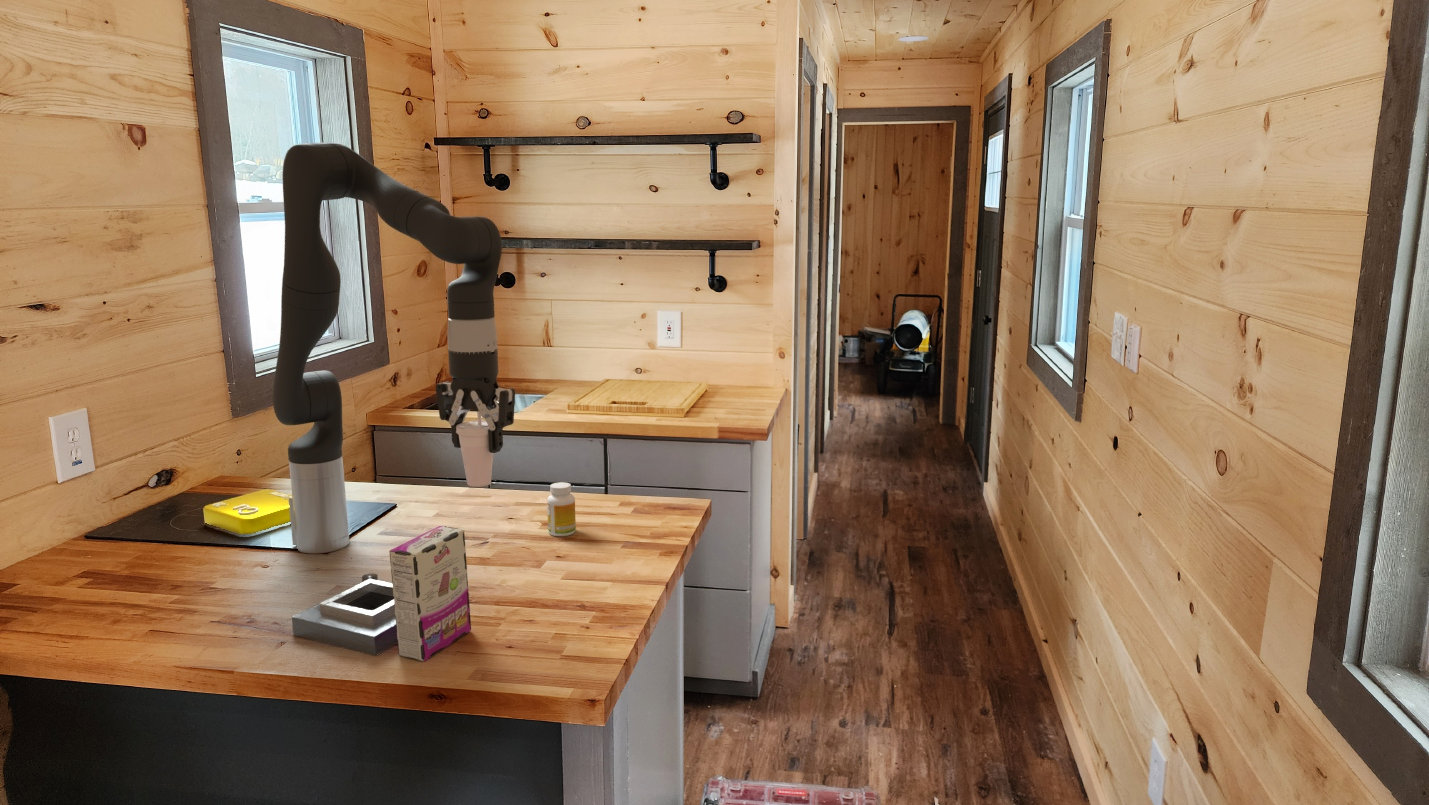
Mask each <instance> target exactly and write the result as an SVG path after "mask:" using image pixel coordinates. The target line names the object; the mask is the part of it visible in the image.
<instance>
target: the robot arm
mask: <svg viewBox="0 0 1429 805" xmlns="http://www.w3.org/2000/svg"><path fill="white" fill-rule="evenodd" d="M281 176H282V195H283V196H282V197H283V199H282V200H283V210H284V252H283V255H284V256H283V270H282V271H283V273H282V279H281V281H282V283H281V302H280V303H281V304H280V305H281V309H280V312H281V314H280V333H279V335H280V336H279V346H278V353H277V358H276V365H275V371H274V378H273V379H274V380H273V385H272V407H273V410H274V414H275V417H276V418H277V420H278V421H279V423H281V424H282V425H285V426H299V425H305V424H311V423H313V426H312V427H311V428H310V430H308V431H307V432H306V433H305V434H303V435H302V436H301V437H299V438H297V439H295V440H293V441H292V442H291V443H289V445H288V447H287V455H288V456H287V457H288V459H287V460H288V468H289V477H290V487H291V495H292V497H291V498H289V509H290V520H291V525H290V527H291V538H292V546H293V545H296V546H297V547H296V549H298V550H297V551H298V552H301V553H305V554H324V553H330V552H335V551H338V550H340V549H343V548H345V547H347V546H348V545H349V544H350V535H349V532H350V531H349V522H348V521H349V520H348V507H347V506H348V505H347V495H346V482H345V472H344V462H343V458H344V457H343V443H344V442H343V441H344V431H343V399H342V391H341V390H342V389H341V386H340V382H339V380H338V378H337V377H336V375H335V374H334V373H333V372H331V371H330V370H316V371H308V372H307V371H306V372H305V368H306V366H307V365H306V364H307V363H308V359H309V356H310V354H311V353H312V351H313V349H314V348H315V347H316V345H318V343H319V342H320V340H321V339H322V338H323V337H324V335H325V334H326V332H328V330H329V328H330V327H331V326H332V323H333V322H334V320H335V319H336V317H337V316H338V315H337V314H338V312H339V306H340V305H339V304H340V294H341V279H342V278H341V273H340V269H339V267H338V264H337V262H336V261H335V259H334V257H333V255H332V253H331V251H330V249H329V248H328V246H327V245H326V242H325V241H324V238H323V236H322V231H321V208H322V202H323V201H330V200H331V201H333V200H340V199H345V198H349V199H353V200H359V201H361V202H365V203H366V204H369V205H371V206H373V208H374V209H375V211H376V213H377V214H378V216H379V217H380V219H382V221H383V222H384V223H385V224H386V225H387V226H389V227H391V228H392V229H394V230H396V231H397V232H399V233H401V234H403V235H405V236H407V237H410V238H411V239H413V240H415V241H417V242H419V243H420V244H421V245H422V246H423V247H424V248H426V250H428V252H430V253H431V254H432V255H434V256H435V257H436V258H438V259H439V260H441V261H443V262H446V263H449V264H454V265H463V268H462V272H461V276H460V277H458V278H456V279H455V280H452V281H451V282H449V284H448V285H447V290H446V297H447V298H446V299H447V317H448V319H447V320H448V323H447V335H446V336H447V350H448V351H447V353H448V355H447V356H448V368H449V369H448V371H449V376H450V377H451V378H452V380H451V382H450V381H447V380H446V381H444V382H439V383H437V384H435V393H436V394H435V395H436V400H437V408H438V416H439V419H440V420H441V421H446V422H448V424H449V425H450V428H451V429H450V430H451V431H450V432H451V442H452V444H453V447H454V448H456V449H461V446H460V440H459V435H458V434H457V433H456V426H457V425H458V424H461V423H464V422H465V419H466V417H467V414H468V413H469V412H470V411H471V410H473V411H475V412H477V411H479V412H480V414H481V418H483V419H484V421H486V422H487V424H488V426H489V429H490V430H489V431H488V436H489V452H490V453H493V454H495V453H499V452H500V451H501V450H502V449H503V446H504V433H503V432H504V431H503V429H504V428H505V427H508V426H512V425H514V423H515V422H514V421H515V402H516V401H515V400H516V391H515V389H514V388H513V387H512V388H504V387H503V388H502V387H500V385H499V383H498V380H497V378H498V375H499V353H498V352H499V351H498V349H499V348H498V332H497V325H496V319H495V299H494V296H495V295H494V290H495V285H496V282H497V277H498V273H499V267H500V262H501V256H502V250H503V249H502V248H503V245H502V237H501V233H500V231H499V228H498V226H497V225H496V224H495V223H494V221H493V220H491V219H490V218H488V217H485V216H456V215H451V213H450V211H449V209H448V208H447V206H446V205H444V203H442V202H440V201H439V200H437V199H435V198H432V197H431V196H429V195H427V194H424V193H422V192H420V191H419V190H416V189H414V188H412V187H409V186H407V185H405V184H403V183H401V182H400V181H398V180H396V179H394V178H392V176H390V175H389V174H386V172H384V171H382V170H381V169H380V168H378V167H377V166H375V165H374V164H373V163H371V162H369V161H368V160H367V159H366V158H364V157H363V156H362V155H360V154H359V153H357V151H356V150H353V149H352V148H350V147H349V146H346V145H344V144H342V143H340V142H331V141H330V142H307V143H298V144H293V145H292V146H290V147H289V149H288V150H287V151H286V153H285V156H284V159H283V164H282V175H281ZM454 397H455V398H454ZM454 399H455V400H454Z"/></svg>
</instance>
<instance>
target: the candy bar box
mask: <svg viewBox="0 0 1429 805" xmlns="http://www.w3.org/2000/svg"><path fill="white" fill-rule="evenodd" d="M388 552H389V562H390V570H391V571H390V572H391V583H392V586H393V595H394V606H395V618H396V629H397V640H398V643H397V648H398V649H397V650H398V656H399V657H402V658H404V657H406V659H409V660H415V661H419V662H426V661H428V660H430V659H431V658H432V657H433V656H436V655H437V654H438V653H440V652H441V651H442V650H444V649H445V648H447V647H449V646H450V645H451V644H453V643H454V642H456V641H457V640H459V639H461V638H462V637H463V636H465V635H466V634H468V633H469V632H470V631H472V624H471V623H472V621H471V608H470V595H469V593H470V592H469V581H468V564H467V563H468V562H467V551H466V539H465V529H463V528H457V527H456V528H455V527H451V526H446V525H438V526H436V527H435V528H432V529H431V530H428V531H426V532H424V533H422V534H420V535H418V536H416V537H414V538H412V539H410V540H408V541H406V542H404V543H402V544H400V545H398V546H396V547H394V548H392V549H390V550H389V551H388Z"/></svg>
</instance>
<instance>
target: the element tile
mask: <svg viewBox="0 0 1429 805" xmlns="http://www.w3.org/2000/svg"><path fill="white" fill-rule="evenodd" d="M291 497H292V494H289V493H285V492H280V491H277V490H272V489H268V488H266V489H262V490H261V489H260V490H256V491H254V492H250V493H246V494H243V495H240V496H235V497H231V498H228V499H224V500H221V501H218V502H214V503H209V504H207V505H205V506H204V507H203V509H202V510H203V517H204V518H203V519H204V524H205V523H207V524H209V525H213V526H216V527H220V528H221V529H225V530H228V531H231V532H235V533H238V534H252V533H256V532H258V531H262V530H266V529H269V528H271V527H274V526H278V525H282V524H285V523H288V522H291V520H290V509H289V498H291Z"/></svg>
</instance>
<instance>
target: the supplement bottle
mask: <svg viewBox="0 0 1429 805" xmlns="http://www.w3.org/2000/svg"><path fill="white" fill-rule="evenodd" d="M549 486H550V487H549V488H550V495H549V496H548V497H547V498H546V501H547V503H546V505H547V506H546V507H547V508H546V509H547V529H548V530H547V531H548V534H549V535H551V536H554V537H567V536H572V535H573V534H575V532H576V529H577V526H576V525H577V523H576V522H577V521H576V498H575V496H574V494H573V493H572V485H571V483H568V482H560V481H559V482H554V483H551V484H550V485H549Z"/></svg>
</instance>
